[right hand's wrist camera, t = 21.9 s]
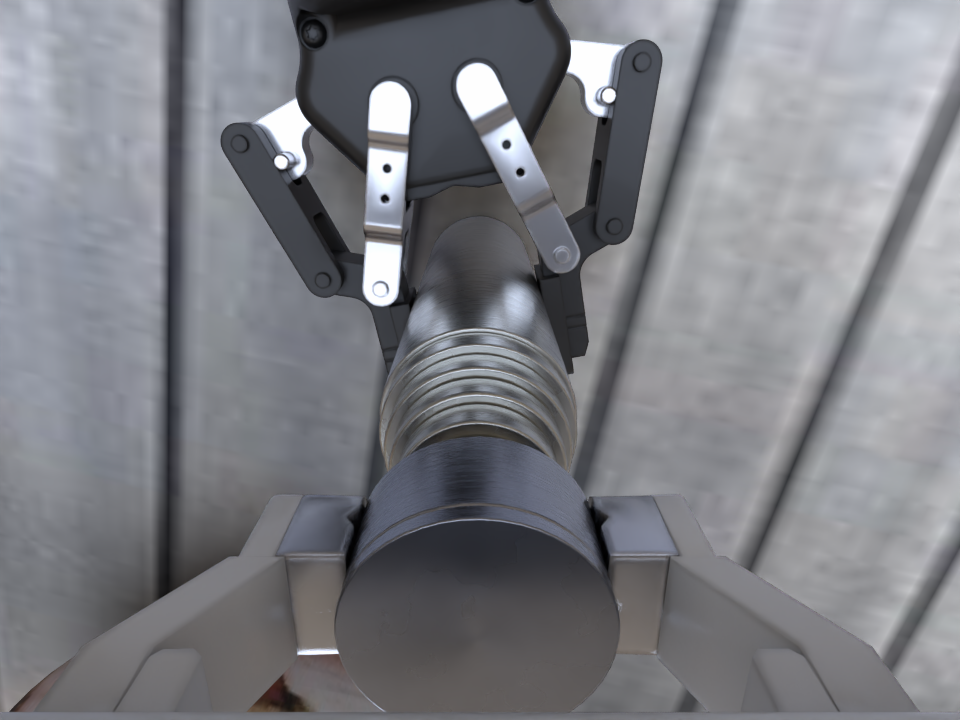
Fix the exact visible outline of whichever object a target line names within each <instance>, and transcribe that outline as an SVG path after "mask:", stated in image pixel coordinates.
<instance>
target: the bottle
mask: <svg viewBox="0 0 960 720" xmlns="http://www.w3.org/2000/svg"><path fill="white" fill-rule="evenodd" d="M478 436H482V437H494V438H501V439H506V440H511V441H514V442H517V443H520V444H523V445H527V446H529V447H531V448H533V449H535V450H537V451H540V452H542V453H543V454H545V455H546V456H548V457H549V458H551V459H553V460H554V461H556V462H557V463H558V464H559V465H560V466H561V467H563V468H564V469H565V470H566V471H567V472H568V473H569V470H570V466H571V463H572V458H573V456H574V452H575V448H576V442H577V406H576V401H575V395H574V392H573V389H572V386H571V383H570V380H569V377H568V374H567V371H566V368H565V365H564V362H563V359H562V356H561V353H560V350H559V347H558V344H557V341H556V338H555V335H554V332H553V329H552V326H551V323H550V320H549V317H548V314H547V311H546V308H545V305H544V302H543V299H542V296H541V293H540V290H539V287H538V284H537V281H536V278H535V276H534V273H533V270H532V267H531V264H530V261H529V258H528V255H527V252H526V249H525V246H524V244H523V242H522V240H521V239H520V237H519V236H518V235H517V233H516V232H515V231H514V230H513V229H512V228H510V227H509V226H508V225H506V224H505V223H503V222H501V221H499V220H496V219H493V218H489V217H482V216H476V217H469V218H465V219H462V220H459V221H457V222H455V223H453V224H452V225H450V226H449V227H448V228H447V229H445V230H444V231H443V232H442V234H441V235H440V236H439V237H438V239H437V241H436V242H435V244H434V247H433V249H432V252H431V255H430V258H429V260H428V263H427V266H426V269H425V272H424V275H423V278H422V281H421V284H420V286H419V289H418V292H417V295H416V298H415V301H414V304H413V307H412V309H411V312H410V315H409V318H408V321H407V324H406V327H405V330H404V333H403V335H402V338H401V341H400V344H399V347H398V350H397V353H396V356H395V358H394V361H393V364H392V367H391V370H390V373H389V376H388V379H387V382H386V384H385V387H384V391H383V394H382V398H381V404H380V423H379V439H380V445H381V450H382V454H383V457H384V460H385V466H386V469H387V472H388V471H389V470H390V469H391V468H392V467H393V466H395V465H396V464H397V463H398V462H400V461H401V460H402V459H404V458H405V457H407V456H409V455H410V454H412V453H414V452H416V451H417V450H419V449H422V448H424V447H427V446H429V445H431V444H434V443H438V442H441V441H445V440H448V439H455V438H461V437H478Z"/></svg>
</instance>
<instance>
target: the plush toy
mask: <svg viewBox="0 0 960 720" xmlns="http://www.w3.org/2000/svg"><path fill="white" fill-rule="evenodd" d="M73 658H74V657H73ZM73 658H72V659H73ZM72 659H70V660H69V661H67V662H66V663H64V664H63V665H62V666H60V667H59V668H57V669H56V670H54V671H53V672H52V673H50V674H49V675H48V676H47V677H46V678H44V679H43V680H42V681H41V682H40V683H38V684H37V685H36V686H35V687H34V688H32V689H31V690H30V691H29V692H28V693H27V694H26V695H25V696H24V697H23V698H22V699H21V700H20V701H19V702H18V703H17V704H16V705H15V706H14V707H13V708H12V709H11V711H10V712H33V711H34V709H35V708H36V707H37V705H38V704H39V703H40V701H41V700H42V699H43V697H44V696H45V695H46V693H47V692H48V691H49V690H50V688H51V687H52V686H53V684H54V683H55V682H56V680H57V679H58V678H59V676H60V675H61V674H62V672H63V671H64V670H65V668H66V667H67V666H68V664H69V663H70V662H71V660H72ZM247 712H384V711H382V710H381V709H379V708H378V707H377V706H376V705H375V704H373V703H372V702H371V701H370V700H368V699H367V698H366V697H365V696H364V695H363V694H362V692H361V691H360V690H359V689H358V688H357V687H356V686H355V684H354V683H353V682H352V680H351V679H350V677H349V676H348V674H347V672H346V670H345V668H344V667H343V665H342V663H341V660H340V657H339V654H311V655H298V659H297V660H296V661H295V662H294V663H293V664H292V665H291V666H290V667H289V668H288V669H287V670H286V671H285V672H284V673H283V674H282V675H281V676H280V678H279V679H278V680H277V681H276V682H275V683H274V684H273V685H272V686H271V687H270V688H269V689H268V690H267V691H266V692H265V693H264V694H263V695H262V696H261V697H260V698H259V699H258V700H257V701H256V702H255V703H254V704H253V706H252V707H251V708H250V709H249V710H248V711H247Z"/></svg>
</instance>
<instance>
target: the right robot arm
mask: <svg viewBox="0 0 960 720" xmlns="http://www.w3.org/2000/svg"><path fill="white" fill-rule="evenodd" d="M588 503H589V506H590V510H591V513H592V517H593V521H594V524H595V528H596V531H597V535H598V538H599V542H600V546H601V549H602V553H603V556H604V560H605V564H606V567H607V571H608V574H609V578H610V581H611V585H612V588H613V592H614V595H615V599H616V603H617V606H618V610H619V618H620V638H619V643H618V648H617V652H616V654H644V655H657V658H658V659H659V660H660V662H661V663H662V664H663V665H664V666H665V667H666V668H667V669H668V670H669V671H670V672H671V673H672V674H673V675H674V676H675V677H676V678H677V679H678V680H679V681H680V683H681V684H682V685H683V686H684V687H685V688H686V689H687V690H688V691H689V692H690V693H691V694H692V695H693V696H694V697H695V698H696V699H697V700H698V701H699V702H700V704H701V705H702V706H703V707H704V708H705V709H706V710H707V711H708V712H247V711H248V710H249V709H250V708H251V707H252V706H253V704H254V703H255V702H256V701H257V700H258V699H259V698H260V697H261V696H262V695H263V694H264V693H265V692H266V691H267V690H268V689H269V688H270V687H271V686H272V685H273V684H274V683H275V682H276V681H277V680H278V679H279V678H280V676H281V675H282V674H283V673H284V672H285V671H286V670H287V669H288V668H289V667H290V666H291V665H292V664H293V663H294V662H295V661H296V660H297V659H298V655H311V654H338V651H337V647H336V641H335V635H334V618H335V612H336V607H337V602H338V599H339V596H340V592H341V589H342V585H343V582H344V578H345V575H346V572H347V569H348V566H349V562H350V559H351V555H352V552H353V548H354V545H355V540H356V537H357V534H358V530H359V527H360V524H361V521H362V517H363V514H364V510H365V507H366V504H367V499H366V497H365V496H344V495H303V494H300V495H275V496H273V497H271V498H270V500H269V502H268V503H267V505H266V507H265V509H264V511H263V512H262V514H261V516H260V518H259V520H258V522H257V523H256V525H255V527H254V529H253V531H252V532H251V534H250V536H249V538H248V540H247V542H246V543H245V545H244V547H243V549H242V551H241V552H240V554H239V556H229V557H227V558H226V559H224V560H223V561H221V562H219V563H218V564H216V565H214V566H213V567H211V568H209V569H208V570H206V571H204V572H203V573H201V574H200V575H198V576H196V577H195V578H193V579H191V580H190V581H188V582H186V583H185V584H183V585H181V586H180V587H178V588H177V589H175V590H173V591H172V592H170V593H168V594H167V595H165V596H163V597H162V598H160V599H158V600H157V601H155V602H154V603H152V604H150V605H149V606H147V607H145V608H144V609H142V610H140V611H139V612H137V613H135V614H134V615H132V616H131V617H129V618H127V619H126V620H124V621H122V622H121V623H119V624H117V625H116V626H114V627H112V628H111V629H109V630H108V631H106V632H104V633H103V634H101V635H99V636H98V637H96V638H94V639H93V640H91V641H89V642H88V643H86V644H85V645H83V646H82V647H81V648H80V650H79V651H78V652H77V654H76V655H75V656H74V658H73V659H72V660H71V662H70V663H69V664H68V666H67V667H66V668H65V670H64V671H63V672H62V674H61V675H60V676H59V678H58V679H57V680H56V682H55V683H54V684H53V686H52V687H51V688H50V690H49V691H48V692H47V693H46V695H45V696H44V697H43V699H42V700H41V701H40V703H39V704H38V705H37V707H36V708H35V709H34V711H33V712H0V720H960V712H920V711H919V710H918V709H917V707H916V706H915V704H914V703H913V702H912V700H911V699H910V698H909V696H908V695H907V694H906V692H905V691H904V689H903V688H902V687H901V685H900V684H899V683H898V681H897V680H896V679H895V677H894V676H893V674H892V673H891V672H890V670H889V669H888V668H887V666H886V665H885V664H884V662H883V661H882V659H881V658H880V657H879V655H878V654H877V653H876V651H875V650H874V649H873V647H872V646H870V645H868V644H867V643H865V642H864V641H862V640H860V639H859V638H857V637H855V636H854V635H852V634H851V633H849V632H847V631H846V630H844V629H842V628H841V627H839V626H838V625H836V624H834V623H833V622H831V621H829V620H828V619H826V618H825V617H823V616H821V615H820V614H818V613H816V612H815V611H813V610H812V609H810V608H808V607H807V606H805V605H803V604H802V603H800V602H799V601H797V600H795V599H794V598H792V597H790V596H789V595H787V594H786V593H784V592H782V591H781V590H779V589H778V588H776V587H774V586H773V585H771V584H769V583H768V582H766V581H765V580H763V579H761V578H760V577H758V576H756V575H755V574H753V573H752V572H750V571H748V570H747V569H745V568H743V567H742V566H740V565H739V564H737V563H735V562H734V561H732V560H730V559H729V558H727V557H726V556H716V555H715V553H714V551H713V549H712V547H711V546H710V544H709V542H708V540H707V538H706V536H705V535H704V533H703V531H702V529H701V527H700V525H699V524H698V522H697V520H696V518H695V516H694V514H693V513H692V511H691V509H690V507H689V505H688V503H687V502H686V500H685V498H684V497H683V496H682V495H680V494H669V495H650V496H606V497H589V501H588Z"/></svg>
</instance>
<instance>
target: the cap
mask: <svg viewBox="0 0 960 720" xmlns="http://www.w3.org/2000/svg"><path fill="white" fill-rule="evenodd" d="M334 635H335V641H336V647H337V651H338V654H339V657H340V660H341V663H342V665H343V667H344V668H345V670H346V672H347V674H348V676H349V677H350V679H351V680H352V682H353V683H354V684H355V686H356V687H357V688H358V689H359V690H360V691H361V692H362V694H363V695H364V696H365V697H366V698H367V699H368V700H370V701H371V702H372V703H373V704H375V705H376V706H377V707H378V708H379V709H381V710H382V711H384V712H571V711H572V710H573V709H575V708H576V707H577V706H579V705H580V704H581V703H583V702H584V701H585V700H586V699H587V698H588V697H589V696H590V695H591V694H592V693H593V692H594V691H595V690H596V689H597V687H598V686H599V685H600V684H601V682H602V681H603V680H604V678H605V676H606V675H607V673H608V671H609V669H610V668H611V665H612V663H613V660H614V658H615V655H616V652H617V648H618V643H619V638H620V618H619V610H618V606H617V603H616V599H615V595H614V592H613V588H612V585H611V581H610V578H609V574H608V571H607V567H606V564H605V560H604V556H603V553H602V549H601V546H600V542H599V538H598V535H597V531H596V528H595V524H594V521H593V517H592V513H591V510H590V506H589V503H588V501H587V499H586V497H585V495H584V493H583V491H582V490H581V488H580V487H579V485H578V484H577V482H576V481H575V480H574V479H573V477H572V476H571V475H570V474H569V473H568V472H567V471H566V470H565V469H564V468H563V467H561V466H560V465H559V464H558V463H557V462H556V461H554V460H553V459H551V458H549V457H548V456H546V455H545V454H543V453H542V452H540V451H537V450H535V449H533V448H531V447H529V446H527V445H523V444H520V443H517V442H514V441H511V440H506V439H501V438H494V437H482V436H478V437H461V438H455V439H448V440H445V441H441V442H438V443H434V444H431V445H429V446H427V447H424V448H422V449H419V450H417V451H416V452H414V453H412V454H410V455H409V456H407V457H405V458H404V459H402V460H401V461H400V462H398V463H397V464H396V465H395V466H393V467H392V468H391V469H390V470H389V471H388V472H387V473H386V474H385V475H384V476H383V477H382V479H381V480H380V481H379V483H378V484H377V485H376V487H375V488H374V490H373V492H372V493H371V495H370V497H369V499H368V501H367V504H366V507H365V510H364V514H363V517H362V521H361V524H360V527H359V530H358V534H357V537H356V540H355V545H354V548H353V552H352V555H351V559H350V562H349V566H348V569H347V572H346V575H345V578H344V582H343V585H342V589H341V592H340V596H339V599H338V602H337V607H336V612H335V618H334Z"/></svg>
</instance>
